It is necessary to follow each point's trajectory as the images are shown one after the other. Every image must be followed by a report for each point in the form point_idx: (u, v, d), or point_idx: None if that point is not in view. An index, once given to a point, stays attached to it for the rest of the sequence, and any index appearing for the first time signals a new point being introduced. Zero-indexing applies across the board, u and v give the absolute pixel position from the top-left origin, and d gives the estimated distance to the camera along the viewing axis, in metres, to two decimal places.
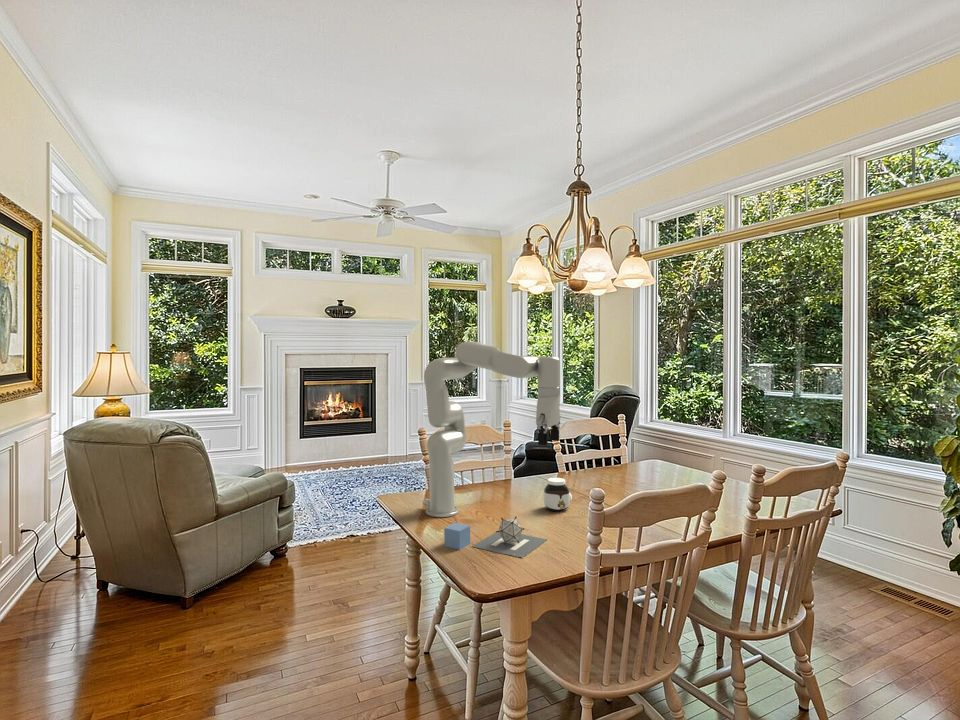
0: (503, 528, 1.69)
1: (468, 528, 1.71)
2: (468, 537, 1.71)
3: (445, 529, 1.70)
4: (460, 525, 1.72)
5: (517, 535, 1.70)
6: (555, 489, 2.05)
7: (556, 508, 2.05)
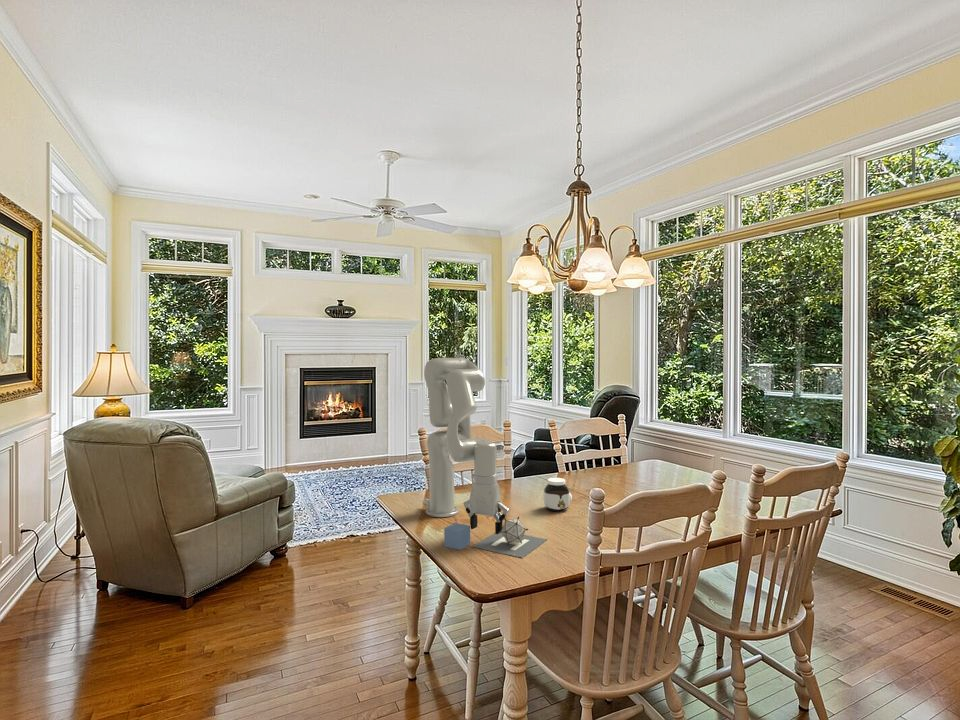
0: (507, 529, 1.68)
1: (468, 528, 1.71)
2: (468, 537, 1.71)
3: (445, 529, 1.70)
4: (460, 525, 1.72)
5: (521, 536, 1.69)
6: (555, 489, 2.05)
7: (556, 508, 2.05)
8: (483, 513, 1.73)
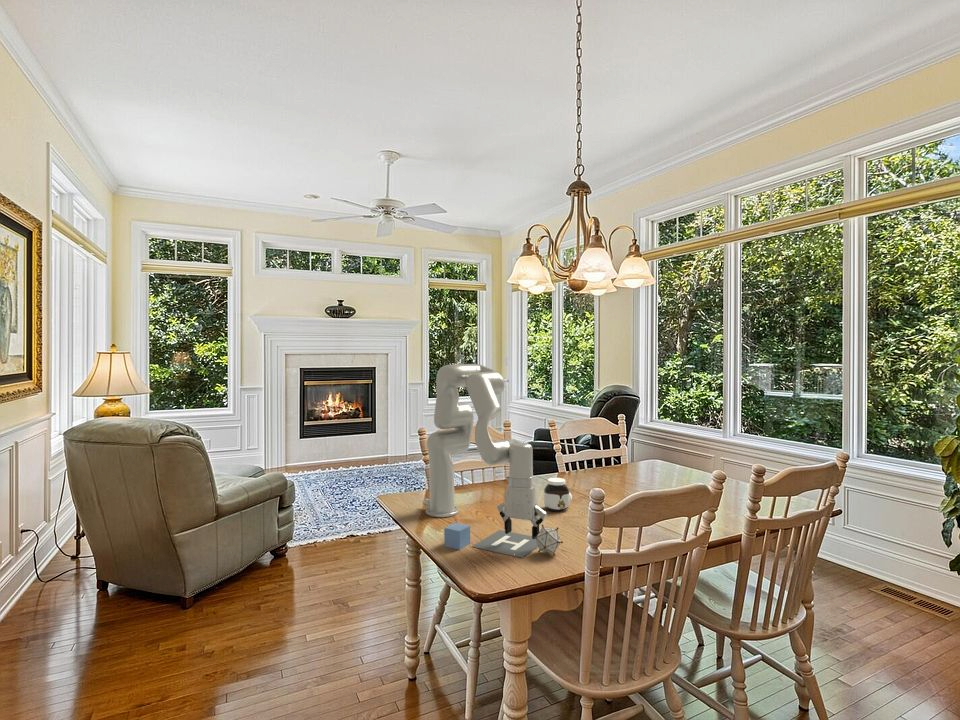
0: (547, 545, 1.60)
1: (468, 528, 1.71)
2: (468, 537, 1.71)
3: (445, 529, 1.70)
4: (460, 525, 1.72)
5: None
6: (555, 489, 2.05)
7: (556, 508, 2.05)
8: (519, 517, 1.67)
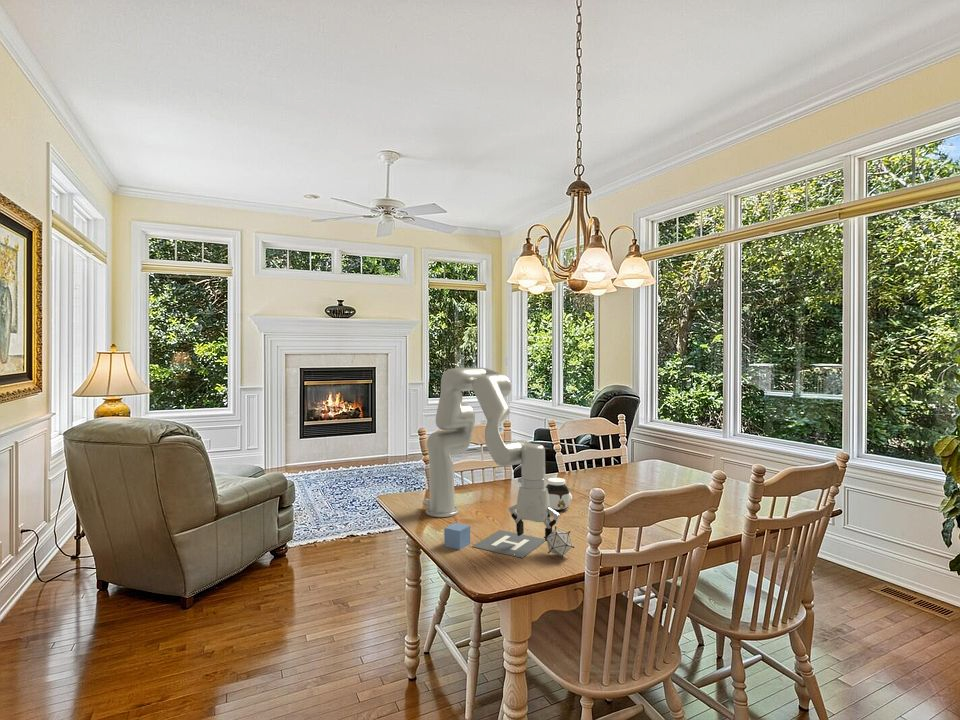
0: (555, 546, 1.58)
1: (468, 528, 1.71)
2: (468, 537, 1.71)
3: (445, 529, 1.70)
4: (460, 525, 1.72)
5: None
6: (555, 489, 2.05)
7: (556, 508, 2.05)
8: (532, 519, 1.65)
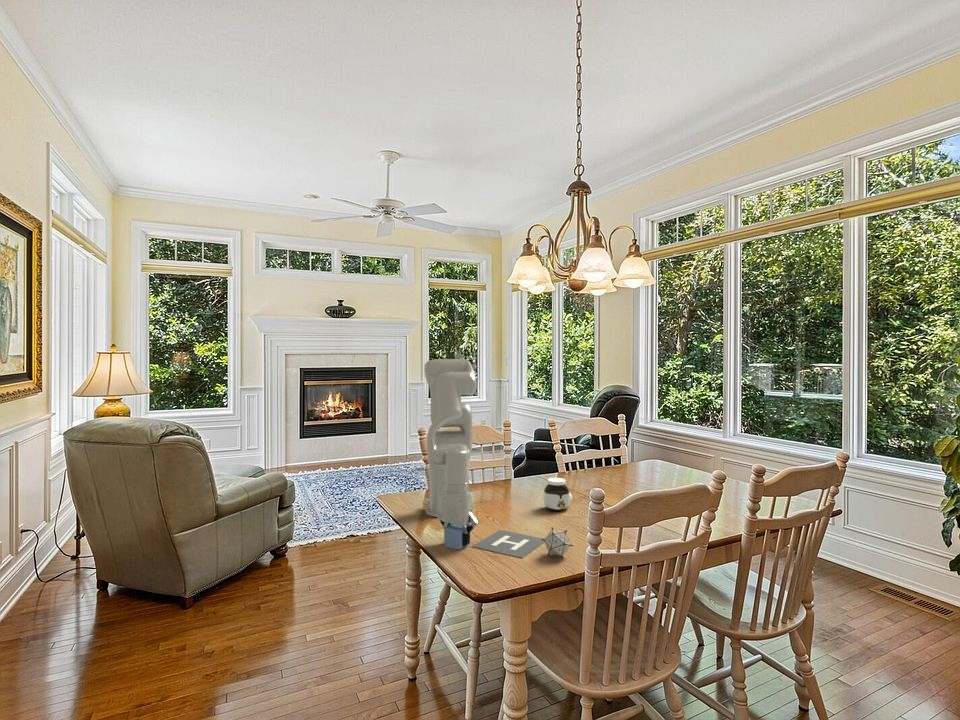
0: (553, 546, 1.58)
1: None
2: None
3: (445, 529, 1.69)
4: None
5: None
6: (555, 489, 2.05)
7: (556, 508, 2.05)
8: (454, 522, 1.68)
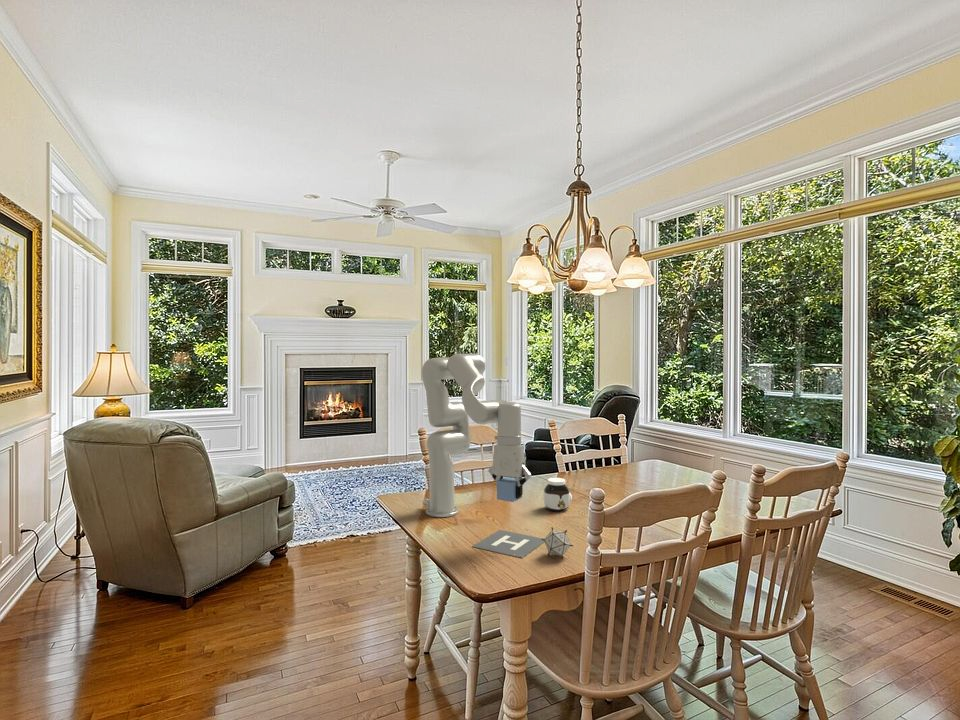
0: (553, 546, 1.58)
1: None
2: None
3: (498, 482, 1.70)
4: (512, 479, 1.73)
5: None
6: (555, 489, 2.05)
7: (556, 508, 2.05)
8: (507, 475, 1.69)
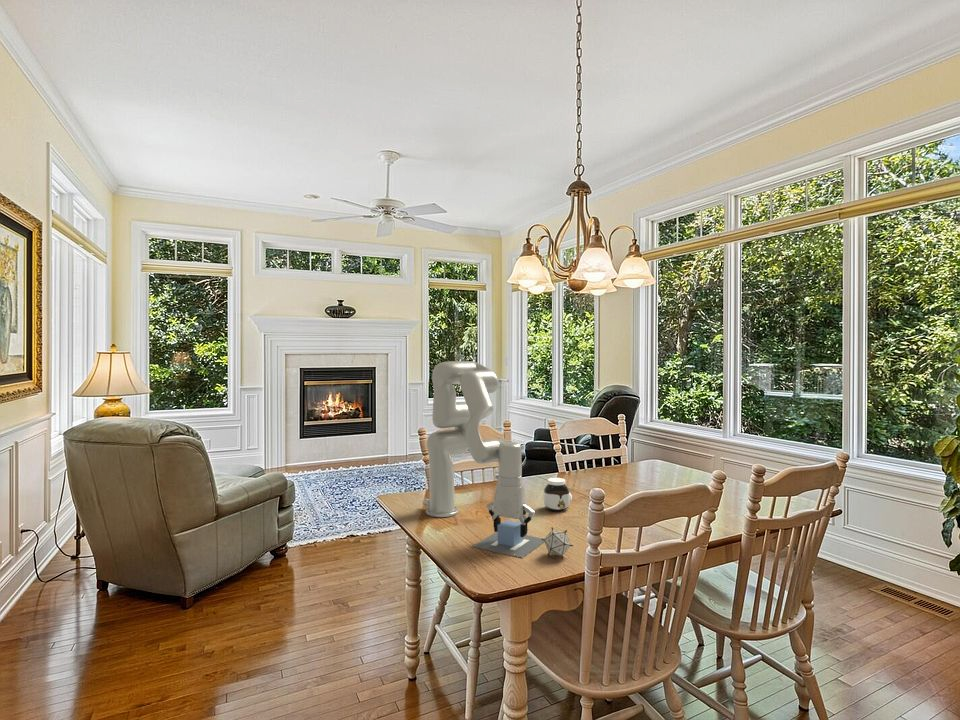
0: (553, 546, 1.58)
1: None
2: None
3: (498, 526, 1.71)
4: (512, 522, 1.73)
5: None
6: (555, 489, 2.05)
7: (556, 508, 2.05)
8: (508, 515, 1.69)
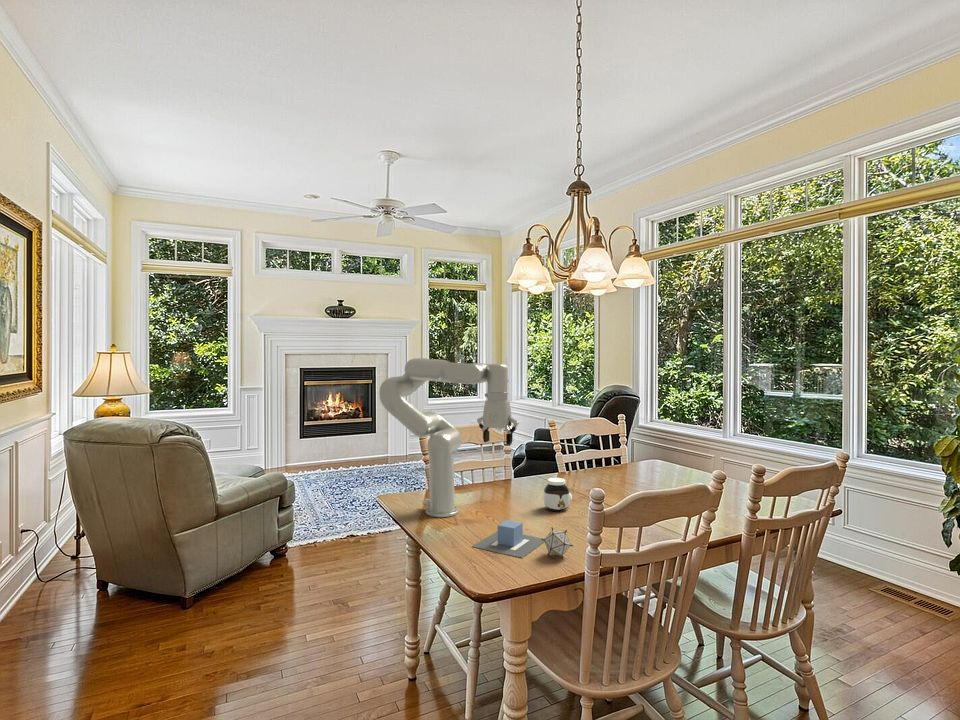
0: (553, 546, 1.58)
1: (521, 525, 1.72)
2: (521, 534, 1.72)
3: (498, 526, 1.71)
4: (512, 522, 1.73)
5: None
6: (555, 489, 2.05)
7: (556, 508, 2.05)
8: (495, 426, 1.94)
